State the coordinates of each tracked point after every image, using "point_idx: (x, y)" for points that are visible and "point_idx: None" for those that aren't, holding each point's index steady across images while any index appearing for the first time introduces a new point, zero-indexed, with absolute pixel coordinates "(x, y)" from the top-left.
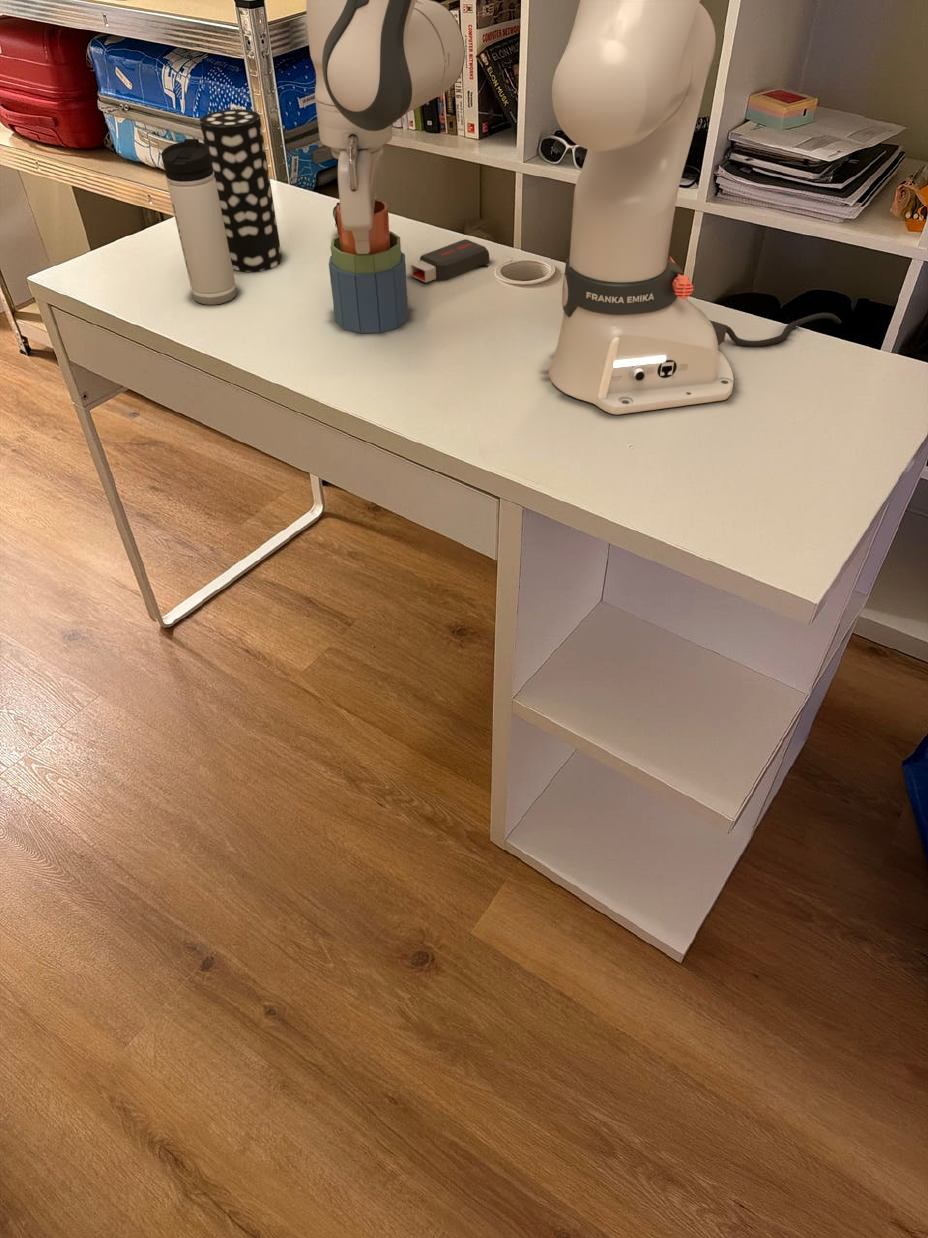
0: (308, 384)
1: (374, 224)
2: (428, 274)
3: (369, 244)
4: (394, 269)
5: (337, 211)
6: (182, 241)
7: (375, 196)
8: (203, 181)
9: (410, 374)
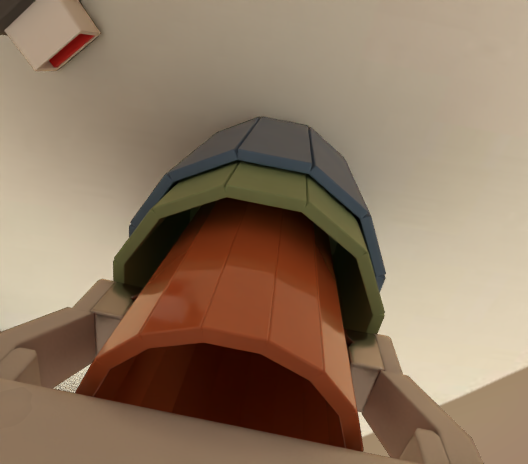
0: (510, 352)
1: (351, 376)
2: (82, 20)
3: (391, 354)
4: (367, 210)
5: None
6: None
7: (226, 455)
8: None
9: None
